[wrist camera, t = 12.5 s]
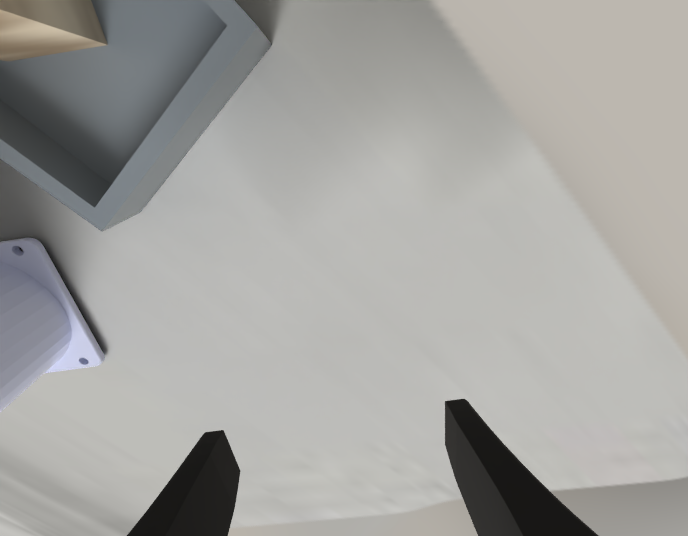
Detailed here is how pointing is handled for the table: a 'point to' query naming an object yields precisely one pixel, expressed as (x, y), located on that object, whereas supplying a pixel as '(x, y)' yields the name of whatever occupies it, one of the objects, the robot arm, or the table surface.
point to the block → (47, 28)
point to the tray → (124, 101)
